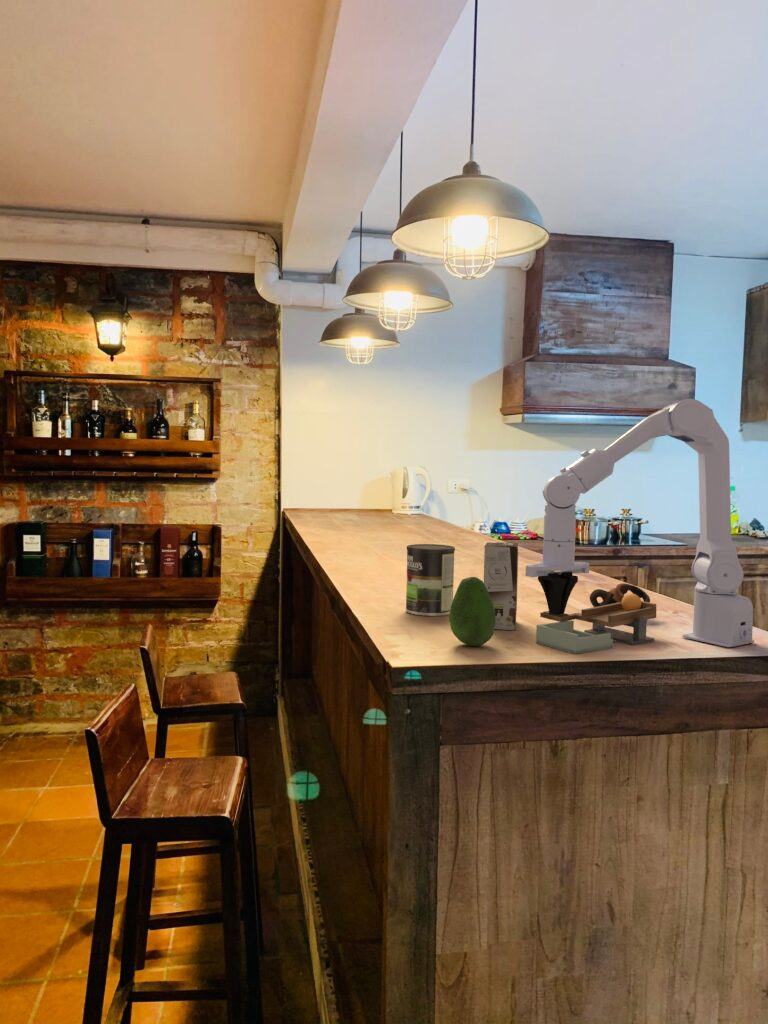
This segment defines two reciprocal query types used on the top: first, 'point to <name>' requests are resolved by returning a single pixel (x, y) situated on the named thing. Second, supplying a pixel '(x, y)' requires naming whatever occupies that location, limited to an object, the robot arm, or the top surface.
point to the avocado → (472, 613)
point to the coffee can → (429, 579)
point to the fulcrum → (622, 636)
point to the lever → (607, 614)
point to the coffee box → (502, 581)
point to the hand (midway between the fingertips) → (556, 613)
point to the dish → (571, 638)
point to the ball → (631, 602)
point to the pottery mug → (616, 594)
